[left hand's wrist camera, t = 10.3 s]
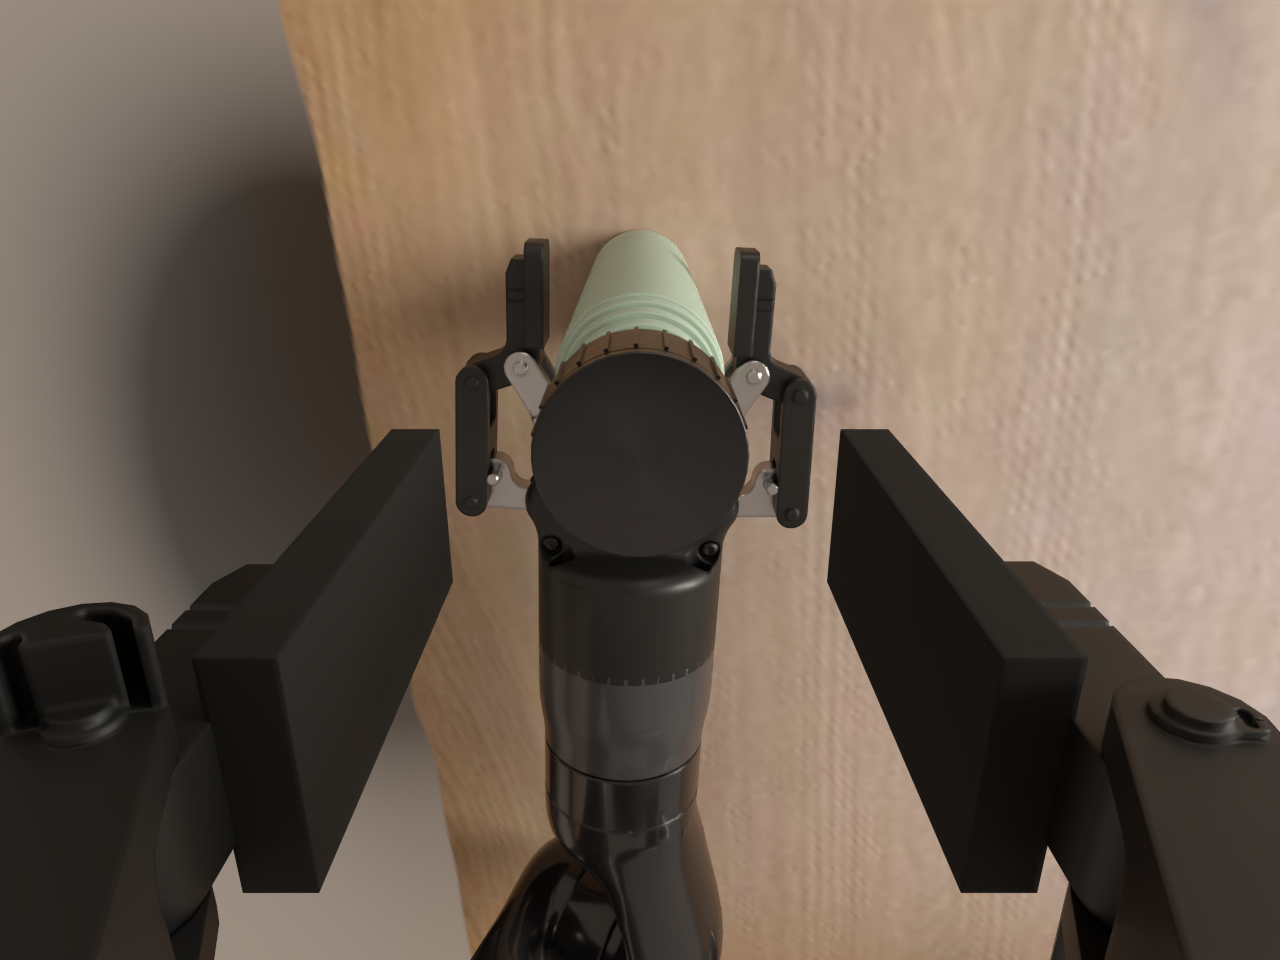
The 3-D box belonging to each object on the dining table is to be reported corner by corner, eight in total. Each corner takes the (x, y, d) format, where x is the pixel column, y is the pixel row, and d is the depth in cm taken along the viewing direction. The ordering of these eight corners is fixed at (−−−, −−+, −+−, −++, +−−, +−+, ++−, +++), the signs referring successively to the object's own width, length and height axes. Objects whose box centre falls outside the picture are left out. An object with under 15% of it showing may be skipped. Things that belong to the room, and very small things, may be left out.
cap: (640, 281, 17) (640, 299, 15) (781, 424, 18) (798, 459, 16) (499, 423, 18) (481, 458, 16) (640, 551, 19) (640, 599, 17)
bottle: (640, 207, 37) (640, 292, 15) (709, 280, 38) (798, 452, 17) (570, 280, 38) (481, 452, 17) (640, 349, 39) (640, 592, 18)
